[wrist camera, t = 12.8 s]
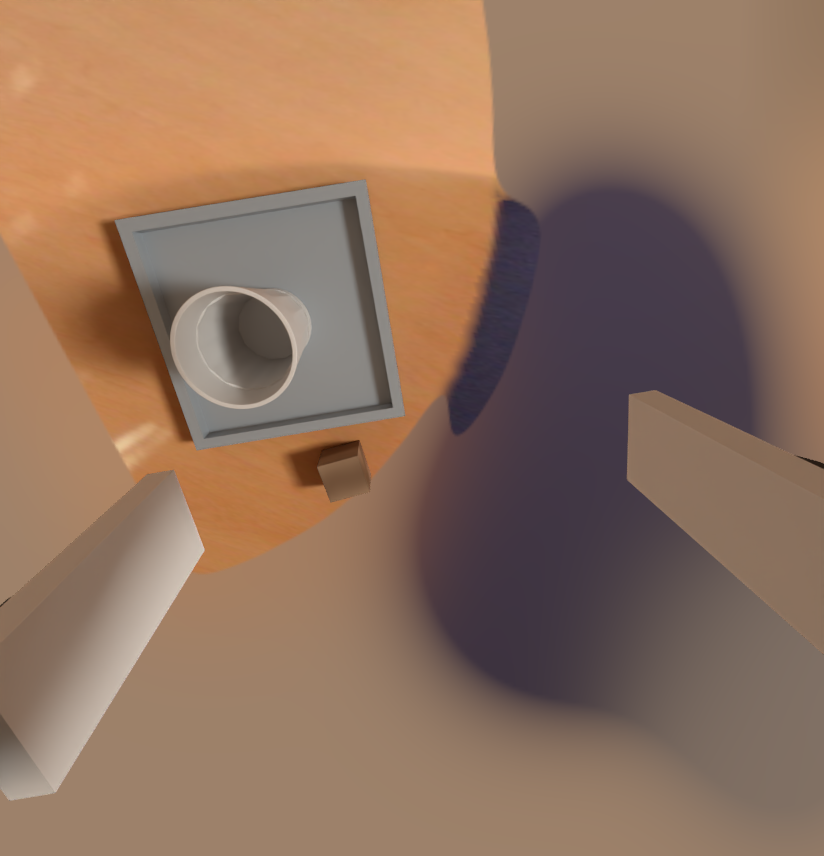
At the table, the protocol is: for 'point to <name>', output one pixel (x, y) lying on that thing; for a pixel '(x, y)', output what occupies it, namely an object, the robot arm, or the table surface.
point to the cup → (239, 343)
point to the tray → (289, 270)
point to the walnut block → (344, 471)
